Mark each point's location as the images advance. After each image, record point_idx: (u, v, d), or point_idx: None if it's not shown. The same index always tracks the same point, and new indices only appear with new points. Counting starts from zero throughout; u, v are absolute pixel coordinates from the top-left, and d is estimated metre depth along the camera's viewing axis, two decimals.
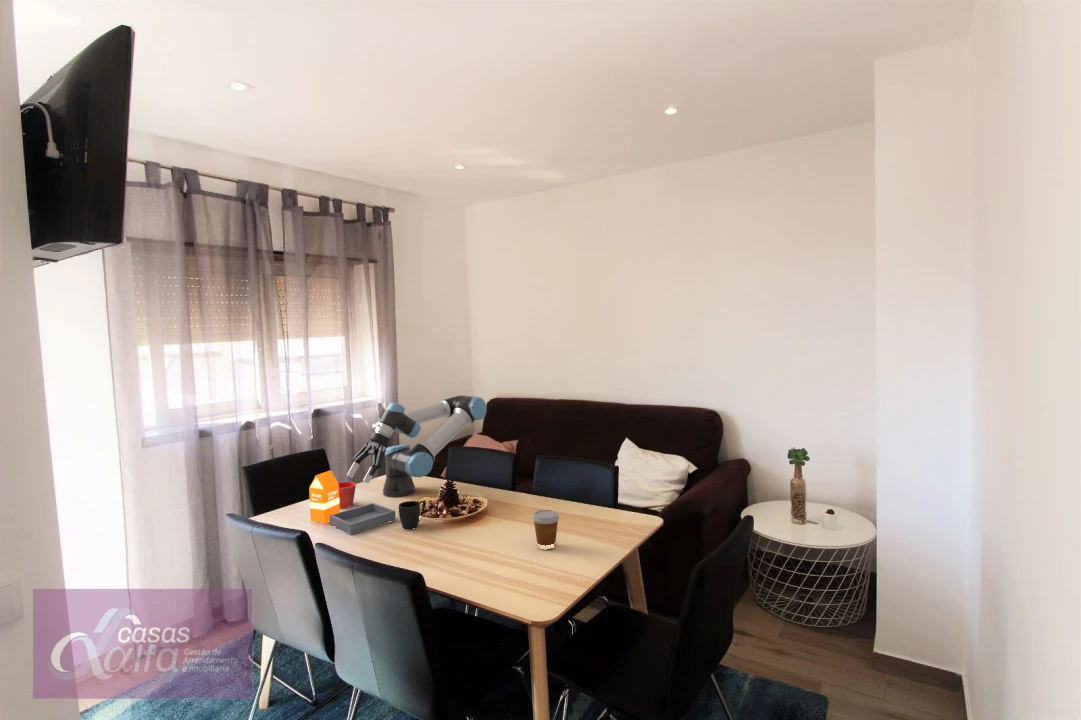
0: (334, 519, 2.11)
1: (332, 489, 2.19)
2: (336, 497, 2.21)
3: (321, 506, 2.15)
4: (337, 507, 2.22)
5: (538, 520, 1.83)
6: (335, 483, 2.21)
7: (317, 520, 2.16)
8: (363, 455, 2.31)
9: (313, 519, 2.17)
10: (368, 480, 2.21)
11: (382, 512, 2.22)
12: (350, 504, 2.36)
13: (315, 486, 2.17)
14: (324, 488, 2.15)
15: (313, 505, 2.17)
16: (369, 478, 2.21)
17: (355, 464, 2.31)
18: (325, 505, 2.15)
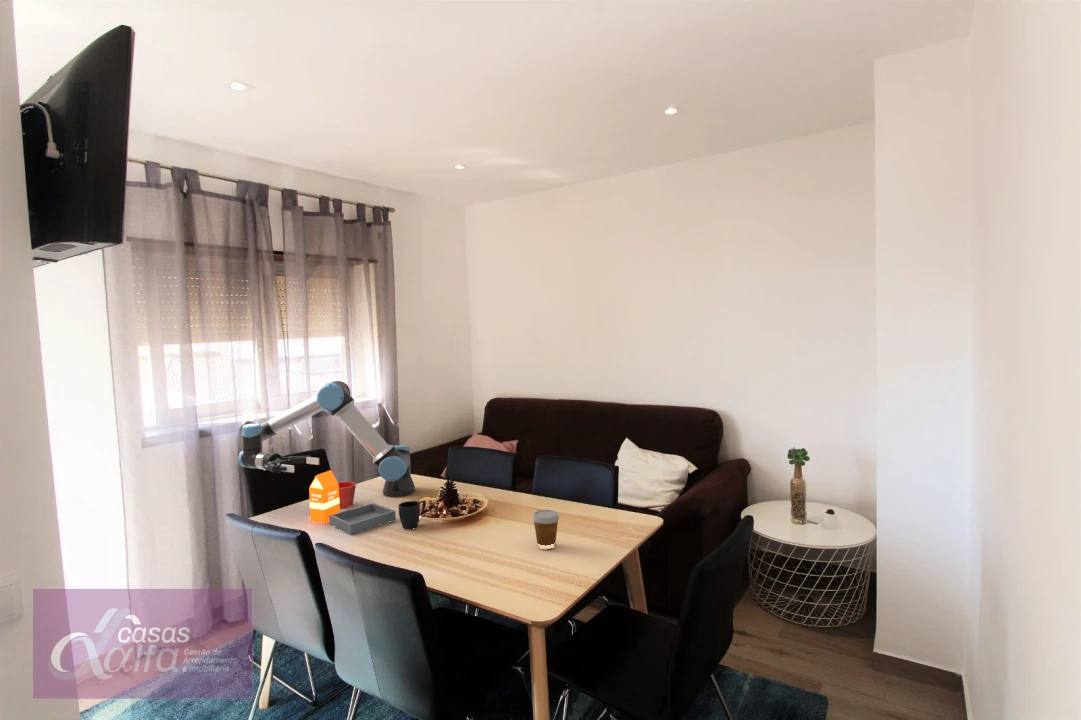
0: (334, 519, 2.11)
1: (332, 488, 2.19)
2: (336, 497, 2.21)
3: (321, 506, 2.15)
4: (337, 507, 2.22)
5: (538, 520, 1.83)
6: (335, 483, 2.21)
7: (317, 520, 2.16)
8: (295, 462, 2.30)
9: (313, 519, 2.17)
10: (290, 467, 2.16)
11: (382, 512, 2.22)
12: (350, 504, 2.36)
13: (315, 486, 2.17)
14: (324, 488, 2.15)
15: (313, 505, 2.17)
16: (289, 467, 2.17)
17: (307, 461, 2.31)
18: (325, 505, 2.15)
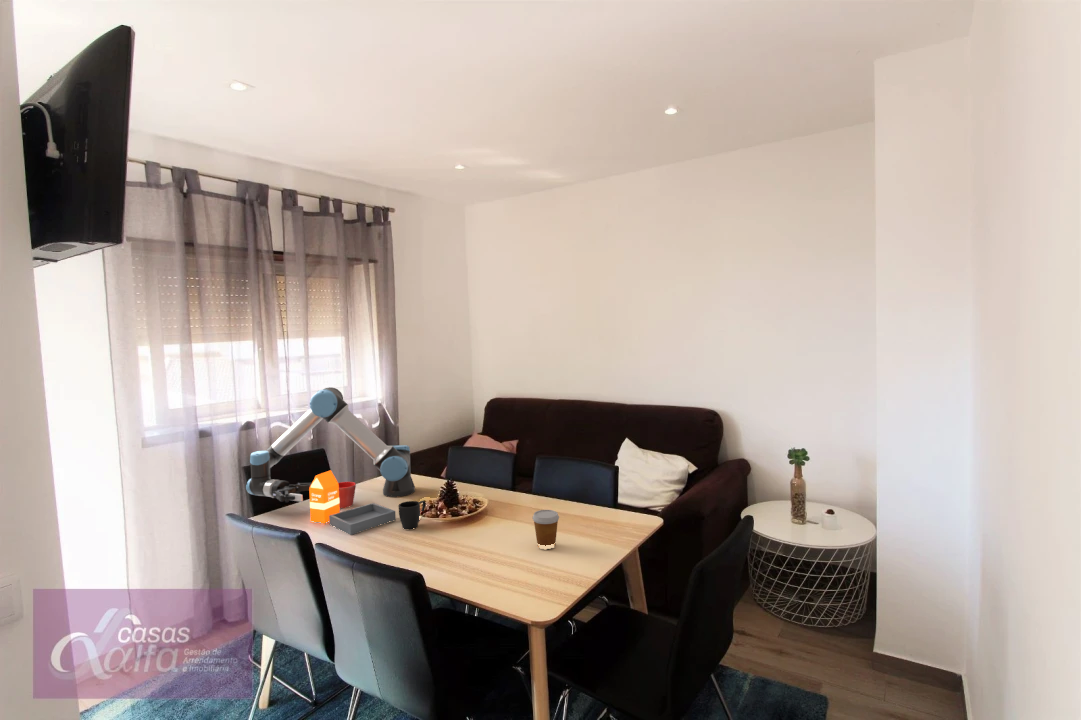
0: (334, 519, 2.11)
1: (332, 489, 2.19)
2: (336, 497, 2.21)
3: (321, 506, 2.15)
4: (337, 507, 2.22)
5: (538, 520, 1.83)
6: (335, 483, 2.21)
7: (317, 520, 2.16)
8: (304, 490, 2.29)
9: (313, 519, 2.17)
10: (299, 496, 2.15)
11: (382, 512, 2.22)
12: (350, 504, 2.36)
13: (315, 486, 2.17)
14: (324, 488, 2.15)
15: (313, 505, 2.17)
16: (297, 496, 2.15)
17: None
18: (325, 505, 2.15)
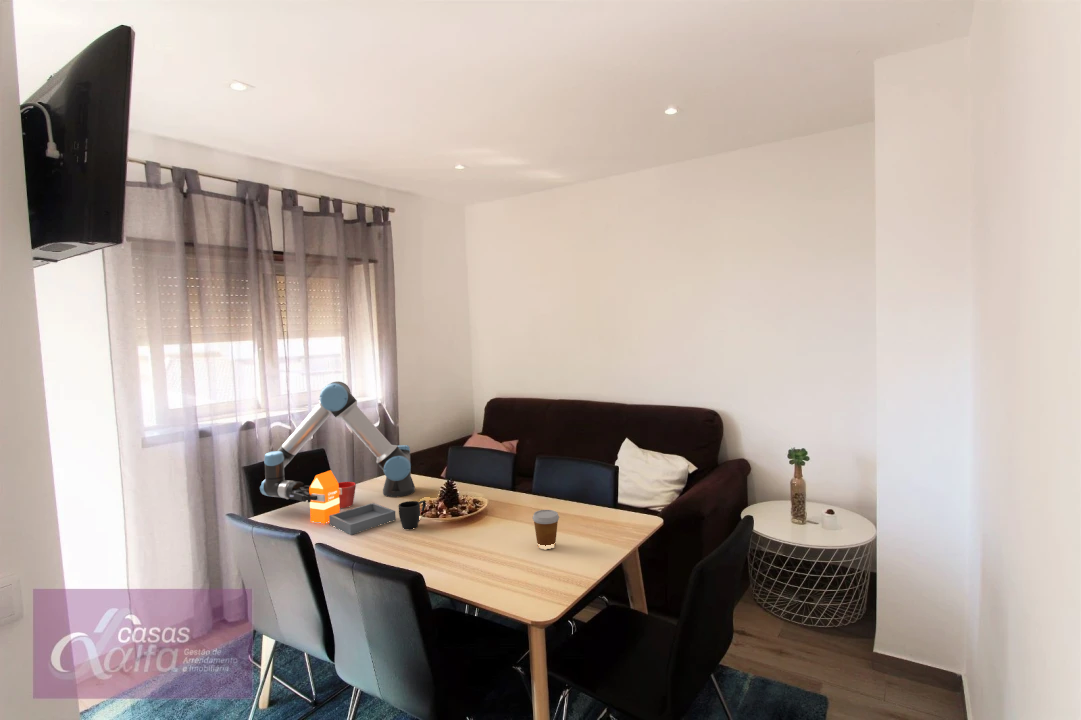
0: (334, 519, 2.11)
1: (332, 488, 2.19)
2: (336, 497, 2.21)
3: (321, 506, 2.15)
4: (337, 507, 2.22)
5: (538, 520, 1.83)
6: (335, 483, 2.21)
7: (317, 520, 2.16)
8: None
9: (313, 518, 2.17)
10: (321, 496, 2.14)
11: (382, 512, 2.22)
12: (350, 504, 2.36)
13: (315, 486, 2.17)
14: (324, 488, 2.15)
15: (313, 505, 2.17)
16: (319, 496, 2.14)
17: None
18: (325, 505, 2.15)
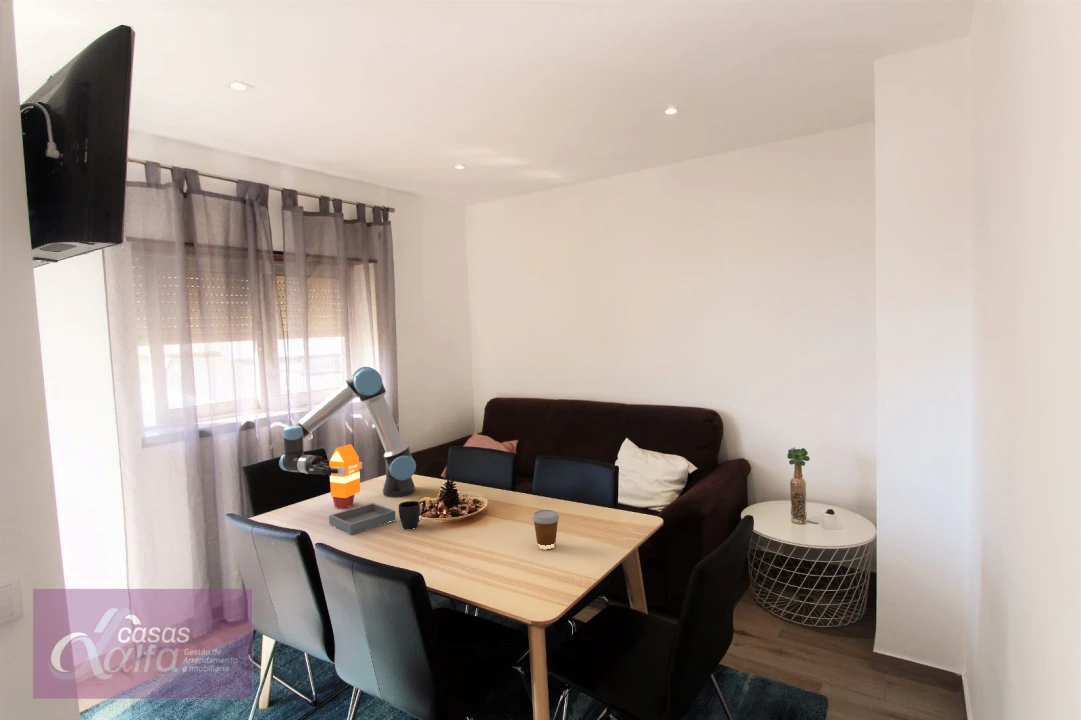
0: (334, 519, 2.11)
1: (352, 462, 2.14)
2: (357, 471, 2.17)
3: (341, 480, 2.11)
4: (357, 481, 2.17)
5: (538, 520, 1.83)
6: (355, 457, 2.16)
7: (337, 494, 2.12)
8: None
9: (334, 493, 2.13)
10: (342, 470, 2.09)
11: (382, 512, 2.22)
12: (350, 504, 2.36)
13: (335, 459, 2.12)
14: (344, 461, 2.10)
15: (333, 479, 2.12)
16: (340, 469, 2.09)
17: None
18: (346, 479, 2.11)
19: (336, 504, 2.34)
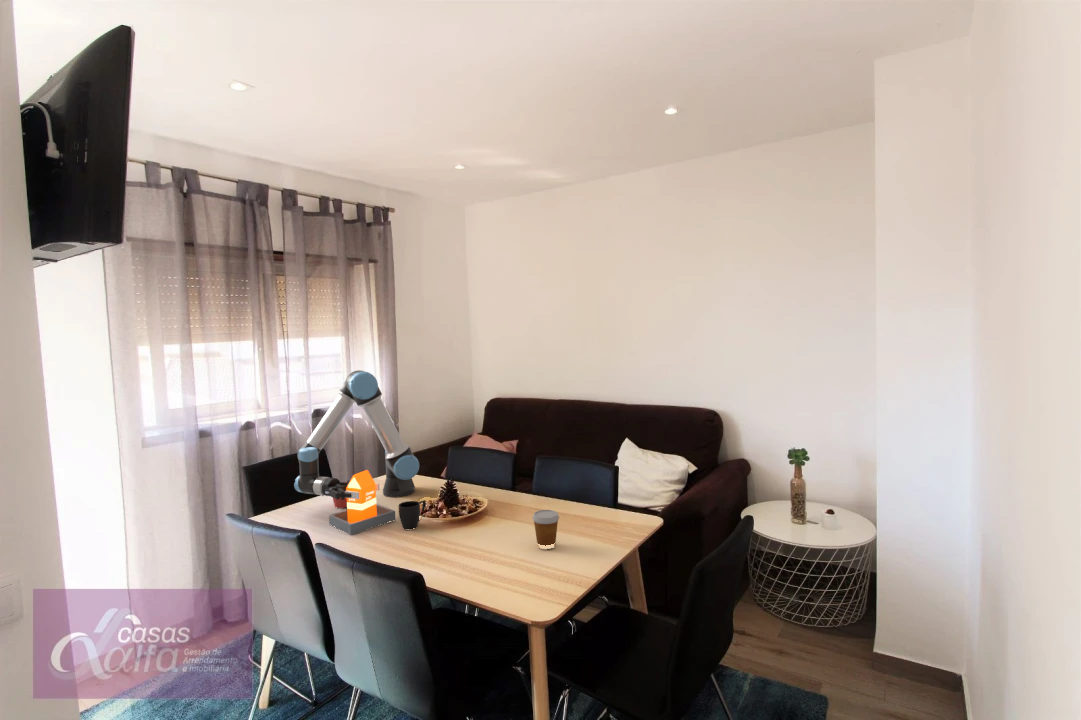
0: (334, 519, 2.11)
1: (369, 488, 2.14)
2: (373, 497, 2.17)
3: (358, 507, 2.10)
4: (374, 507, 2.17)
5: (538, 520, 1.83)
6: (372, 483, 2.16)
7: (355, 521, 2.12)
8: None
9: (351, 519, 2.12)
10: (355, 494, 2.08)
11: (382, 512, 2.22)
12: None
13: (352, 486, 2.12)
14: (362, 488, 2.10)
15: (350, 505, 2.12)
16: (354, 494, 2.08)
17: None
18: (363, 505, 2.11)
19: (336, 504, 2.34)
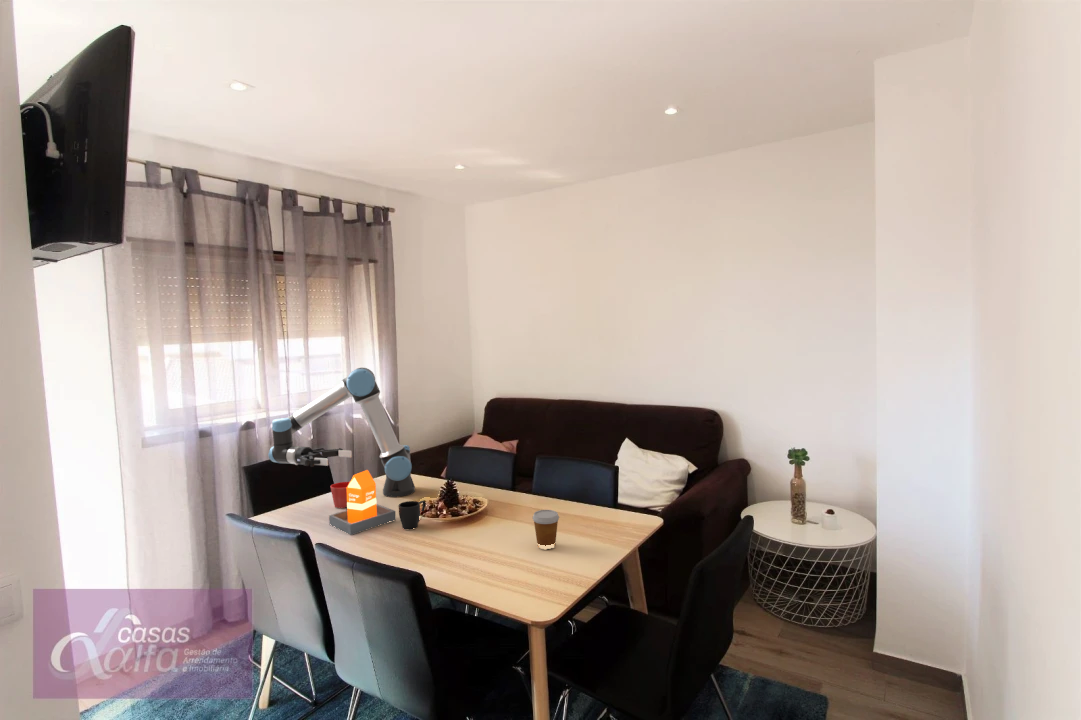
0: (334, 519, 2.11)
1: (369, 489, 2.14)
2: (374, 497, 2.17)
3: (358, 507, 2.10)
4: (374, 507, 2.17)
5: (538, 520, 1.83)
6: (372, 483, 2.16)
7: (355, 521, 2.12)
8: (327, 456, 2.26)
9: (351, 519, 2.12)
10: (324, 460, 2.11)
11: (382, 512, 2.22)
12: None
13: (352, 486, 2.12)
14: (362, 488, 2.10)
15: (350, 505, 2.12)
16: (322, 460, 2.12)
17: (340, 454, 2.26)
18: (363, 505, 2.11)
19: (336, 504, 2.34)
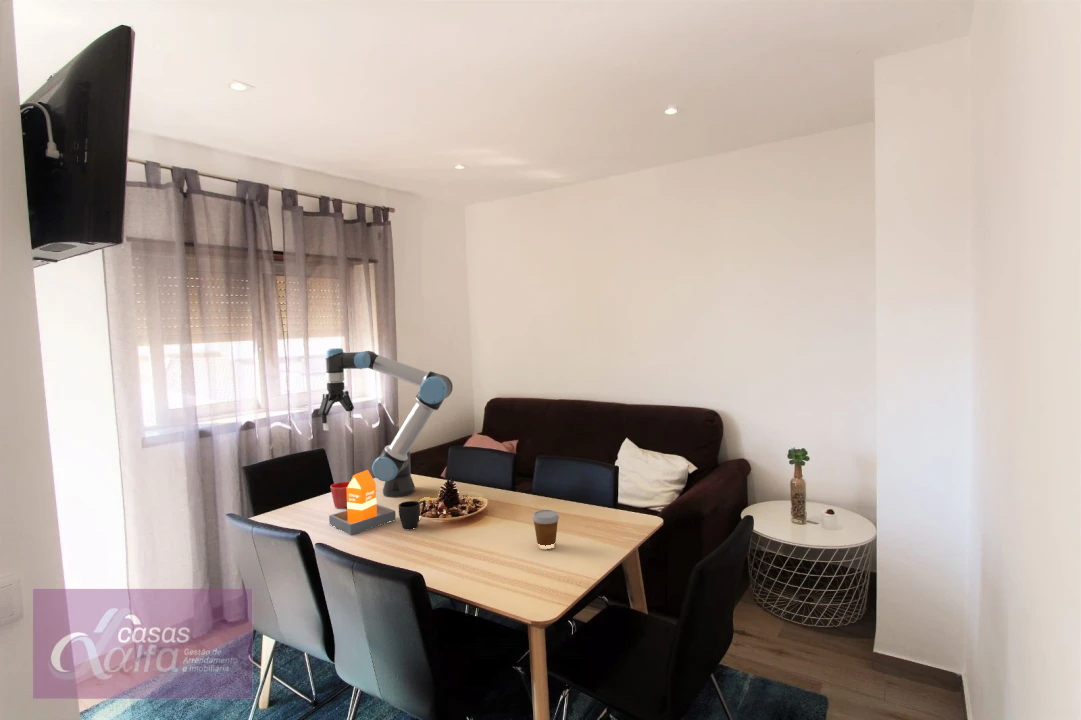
0: (334, 519, 2.11)
1: (369, 489, 2.14)
2: (374, 497, 2.17)
3: (358, 507, 2.10)
4: (374, 507, 2.17)
5: (538, 520, 1.83)
6: (372, 483, 2.16)
7: (355, 521, 2.12)
8: (341, 404, 2.46)
9: (351, 519, 2.12)
10: (326, 428, 2.35)
11: (382, 512, 2.22)
12: None
13: (353, 486, 2.12)
14: (362, 488, 2.10)
15: (350, 505, 2.12)
16: (326, 426, 2.35)
17: (345, 413, 2.48)
18: (363, 505, 2.11)
19: (336, 504, 2.34)
